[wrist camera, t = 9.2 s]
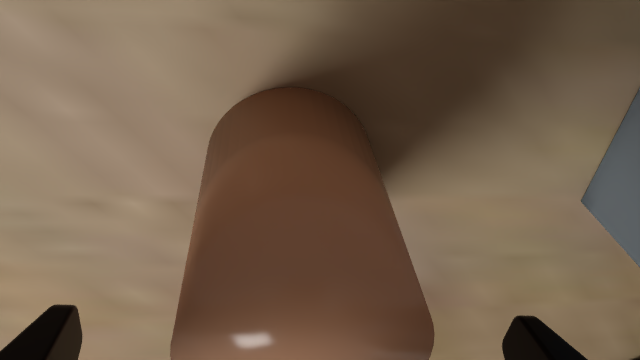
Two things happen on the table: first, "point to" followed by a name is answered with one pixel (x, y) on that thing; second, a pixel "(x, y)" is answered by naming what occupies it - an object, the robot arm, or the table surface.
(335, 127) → the terracotta capsule
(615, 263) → the table surface
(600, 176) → the tote
